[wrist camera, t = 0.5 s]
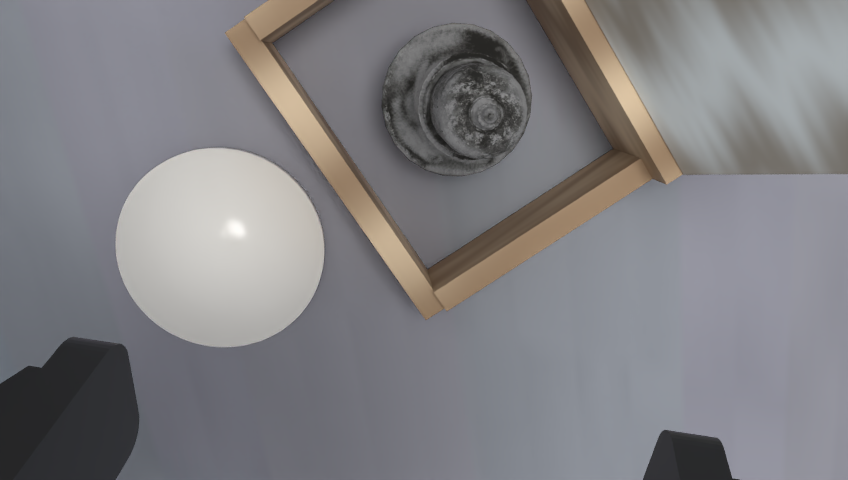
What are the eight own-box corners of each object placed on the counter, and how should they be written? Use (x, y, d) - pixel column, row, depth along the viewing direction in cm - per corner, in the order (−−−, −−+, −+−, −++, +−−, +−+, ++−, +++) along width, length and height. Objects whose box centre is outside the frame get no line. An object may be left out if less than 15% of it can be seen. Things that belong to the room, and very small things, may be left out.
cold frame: (238, 35, 31) (92, 4, 15) (549, -180, 30) (759, -469, 14) (421, 298, 34) (466, 508, 18) (707, 112, 33) (1029, 158, 17)
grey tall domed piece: (386, 170, 33) (395, 228, 21) (374, 32, 31) (376, 13, 20) (517, 159, 33) (597, 210, 21) (511, 22, 32) (593, -3, 20)
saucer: (77, 221, 32) (71, 224, 32) (245, 106, 32) (242, 107, 31) (203, 378, 34) (200, 383, 34) (363, 273, 34) (363, 276, 33)
